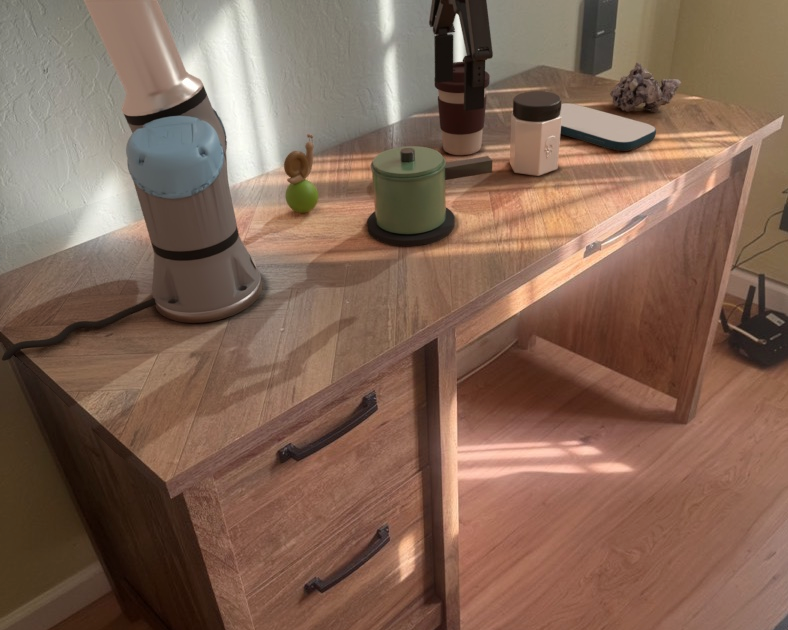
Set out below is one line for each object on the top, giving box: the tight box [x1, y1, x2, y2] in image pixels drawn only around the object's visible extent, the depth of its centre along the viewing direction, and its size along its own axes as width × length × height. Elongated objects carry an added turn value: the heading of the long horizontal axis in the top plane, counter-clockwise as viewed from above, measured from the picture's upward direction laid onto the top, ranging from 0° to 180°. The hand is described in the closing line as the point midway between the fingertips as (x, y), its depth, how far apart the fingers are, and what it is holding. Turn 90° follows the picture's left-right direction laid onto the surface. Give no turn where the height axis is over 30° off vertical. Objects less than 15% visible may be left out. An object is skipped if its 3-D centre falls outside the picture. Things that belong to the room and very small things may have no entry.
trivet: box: [366, 207, 456, 247], centre depth 122 cm, size 14×14×1 cm
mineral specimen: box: [609, 61, 682, 113], centre depth 155 cm, size 12×9×10 cm
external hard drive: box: [560, 102, 657, 152], centre depth 148 cm, size 24×12×2 cm, turn 40°
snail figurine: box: [283, 133, 319, 214], centre depth 125 cm, size 5×6×12 cm
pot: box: [369, 145, 493, 234], centre depth 119 cm, size 12×19×11 cm, turn 105°
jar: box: [509, 90, 562, 177], centre depth 134 cm, size 9×8×12 cm
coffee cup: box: [433, 61, 491, 156], centre depth 141 cm, size 10×10×15 cm
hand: (458, 94), depth 112 cm, fingers open, 13 cm apart
